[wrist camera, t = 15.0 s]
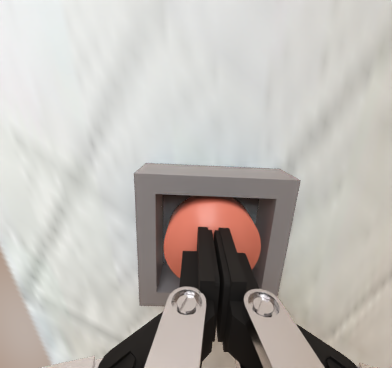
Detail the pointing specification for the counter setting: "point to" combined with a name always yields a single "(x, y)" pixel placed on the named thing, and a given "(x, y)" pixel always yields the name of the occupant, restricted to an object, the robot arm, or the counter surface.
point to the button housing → (220, 187)
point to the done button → (209, 228)
